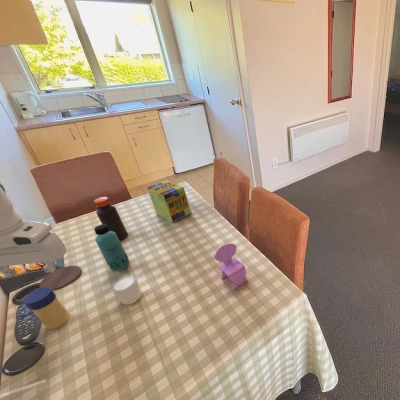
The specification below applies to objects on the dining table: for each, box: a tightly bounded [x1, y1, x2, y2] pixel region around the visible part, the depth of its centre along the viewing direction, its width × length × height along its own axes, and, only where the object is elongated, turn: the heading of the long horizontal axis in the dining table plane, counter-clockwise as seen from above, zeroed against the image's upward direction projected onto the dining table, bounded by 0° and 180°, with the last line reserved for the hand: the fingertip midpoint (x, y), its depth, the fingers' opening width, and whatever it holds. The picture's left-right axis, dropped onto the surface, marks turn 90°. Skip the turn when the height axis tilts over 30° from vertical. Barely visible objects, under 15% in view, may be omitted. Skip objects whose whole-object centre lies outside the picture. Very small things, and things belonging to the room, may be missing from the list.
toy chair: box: [214, 243, 248, 291], centre depth 94 cm, size 8×9×15 cm
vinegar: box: [93, 196, 129, 242], centre depth 116 cm, size 7×7×20 cm
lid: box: [23, 287, 57, 311], centre depth 79 cm, size 6×6×3 cm
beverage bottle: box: [94, 223, 130, 272], centre depth 99 cm, size 6×7×20 cm
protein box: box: [146, 179, 192, 223], centre depth 134 cm, size 10×15×16 cm
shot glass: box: [111, 275, 142, 306], centre depth 90 cm, size 7×7×7 cm
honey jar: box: [31, 296, 71, 330], centre depth 81 cm, size 6×6×12 cm
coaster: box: [39, 265, 83, 291], centre depth 100 cm, size 12×12×1 cm
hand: (31, 273), depth 75 cm, fingers open, 8 cm apart
